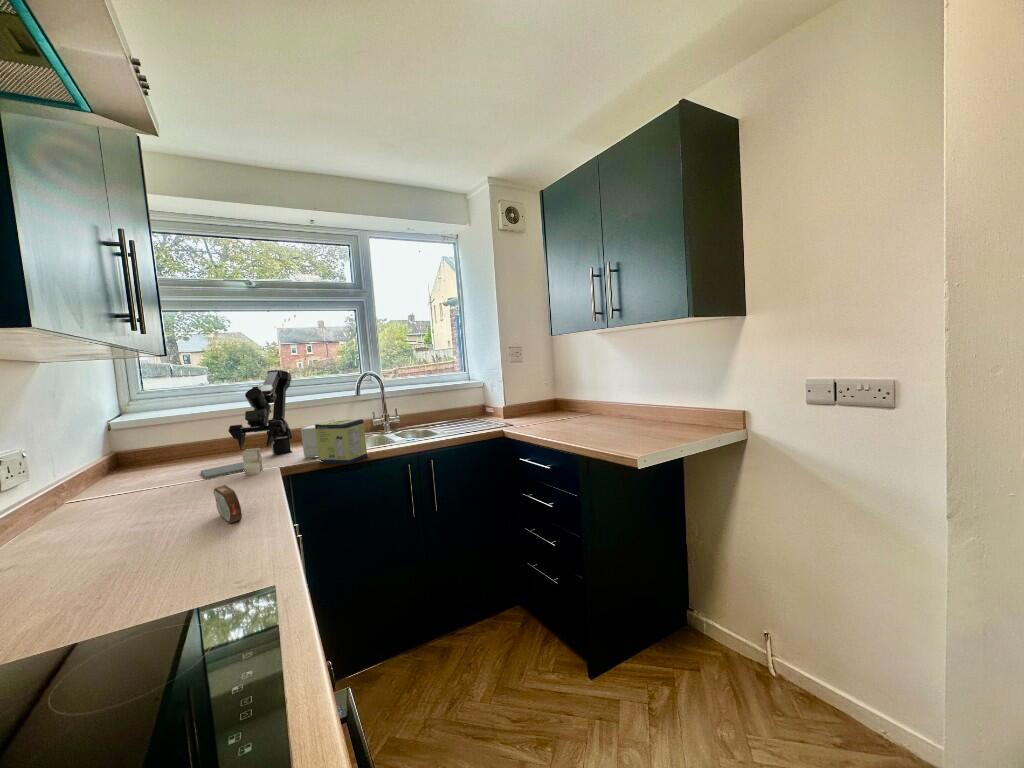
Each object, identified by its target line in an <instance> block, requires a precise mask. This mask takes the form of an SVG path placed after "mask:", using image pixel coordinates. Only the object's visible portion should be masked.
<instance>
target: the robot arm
mask: <svg viewBox="0 0 1024 768" xmlns="http://www.w3.org/2000/svg"><path fill="white" fill-rule="evenodd" d="M292 377H293V376H292V374H291V373H290V372H288V371H284V370H282V369H278V368H277V369H269V370H268V371H267V375H266V378H265V380H264V382H263V384H262V386H260V387H259V386H257V385H256V386H252V388H251V389H248V390H246V392H245V394H244V397H245V399H246V400H247V402H248V404H249V405H250V407H251V408H253V410H246V411H244V420H245V421H246V423H247V425H248V426H245V427H243V425H242V424H235V425H230V426H229V428H228V433H229V434H230V435H231V437H232V438H233V439H235V440H237V441H238V447H239V449H240V450H242V449H243V448H244V446H245V442H246V435H247V434H248V433H259V432H260V433H261V432H263V433H264V432H266V435H267V439H266V447H269V446H271V452H272V454H273V453H274V455H275V454H276V456H279V455H283V454H288V453H292V452H293V450H292V449H291V444H290V442H291V441H290V439H293V432H292V430H291V428H290V426H289V424H288V422H287V421H286V419H285V417H286V415H285V414H286V400H287V399H286V395H287V390H288V389H289V388H290V386H291V381H292ZM271 404H273V414H272V418H271V419H269V417H270V414H271V413H272V410H271V408H272V407H271Z"/></svg>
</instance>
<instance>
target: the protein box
mask: <svg viewBox="0 0 1024 768" xmlns="http://www.w3.org/2000/svg"><path fill="white" fill-rule="evenodd" d="M314 425H315V430H316V438H317V446H318V455H319V457H318V460H321V461H323V463H322V464H339V465H341V464H342V465H344V464H346V465H349V464H354V463H355V462H357V461H360V460H362V459H365V458H368V451H367V448H368V447H367V444H366V443H367V442H366V441H367V440H366V436H365V435H366V431H365V425H364V419H361V418H358V419H332V420H328V421H325V422H321V423H317V424H314Z"/></svg>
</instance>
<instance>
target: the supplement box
mask: <svg viewBox="0 0 1024 768" xmlns="http://www.w3.org/2000/svg"><path fill="white" fill-rule="evenodd" d="M315 425H316V424H314V425H309V426H305V427H302V428H300V434H301V435H300V436H301V443H302V448H303V450H302V451H303V456H304V457H311V458H315V457H314V456H319V455H318V446H317V438H316V430H315ZM304 457H303V458H304Z"/></svg>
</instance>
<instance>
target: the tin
mask: <svg viewBox="0 0 1024 768" xmlns="http://www.w3.org/2000/svg"><path fill="white" fill-rule="evenodd" d="M213 495H214V498H215V502H216V503H215V504H216V510H217V511H218V514H219V515H220V517H221V518H222V519H223V520H225V522H227V523H228V524H232V523H236V522H238V521H240V522H241V521H242V520H243V514H242V508H241V505H240V504H241V503H240V500H239V497H238V496H237V492H235V490H234V489H233V488H231V487H230V486H228V485H227V484H223V485H222V486H218V487H215V488H214V489H213Z"/></svg>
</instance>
